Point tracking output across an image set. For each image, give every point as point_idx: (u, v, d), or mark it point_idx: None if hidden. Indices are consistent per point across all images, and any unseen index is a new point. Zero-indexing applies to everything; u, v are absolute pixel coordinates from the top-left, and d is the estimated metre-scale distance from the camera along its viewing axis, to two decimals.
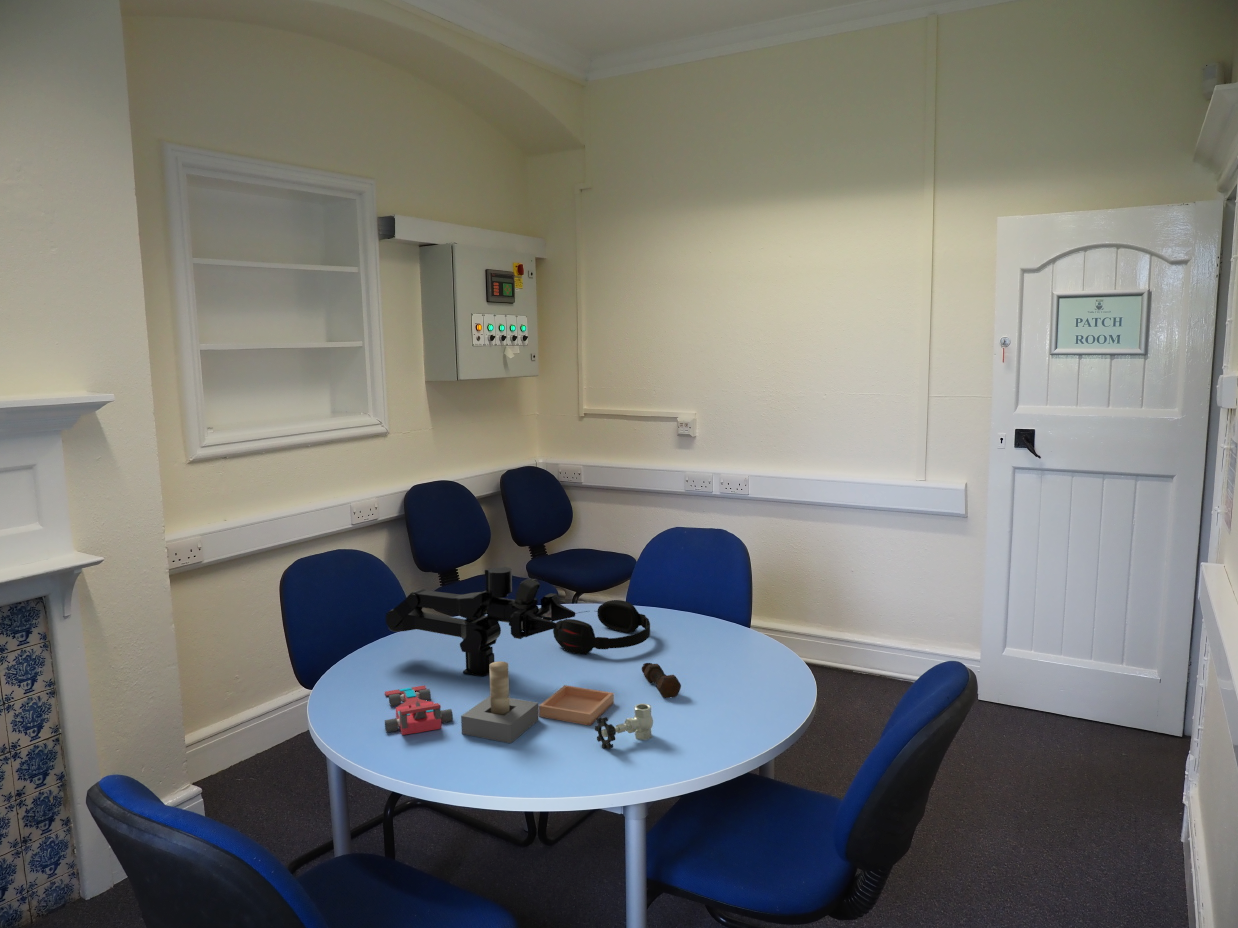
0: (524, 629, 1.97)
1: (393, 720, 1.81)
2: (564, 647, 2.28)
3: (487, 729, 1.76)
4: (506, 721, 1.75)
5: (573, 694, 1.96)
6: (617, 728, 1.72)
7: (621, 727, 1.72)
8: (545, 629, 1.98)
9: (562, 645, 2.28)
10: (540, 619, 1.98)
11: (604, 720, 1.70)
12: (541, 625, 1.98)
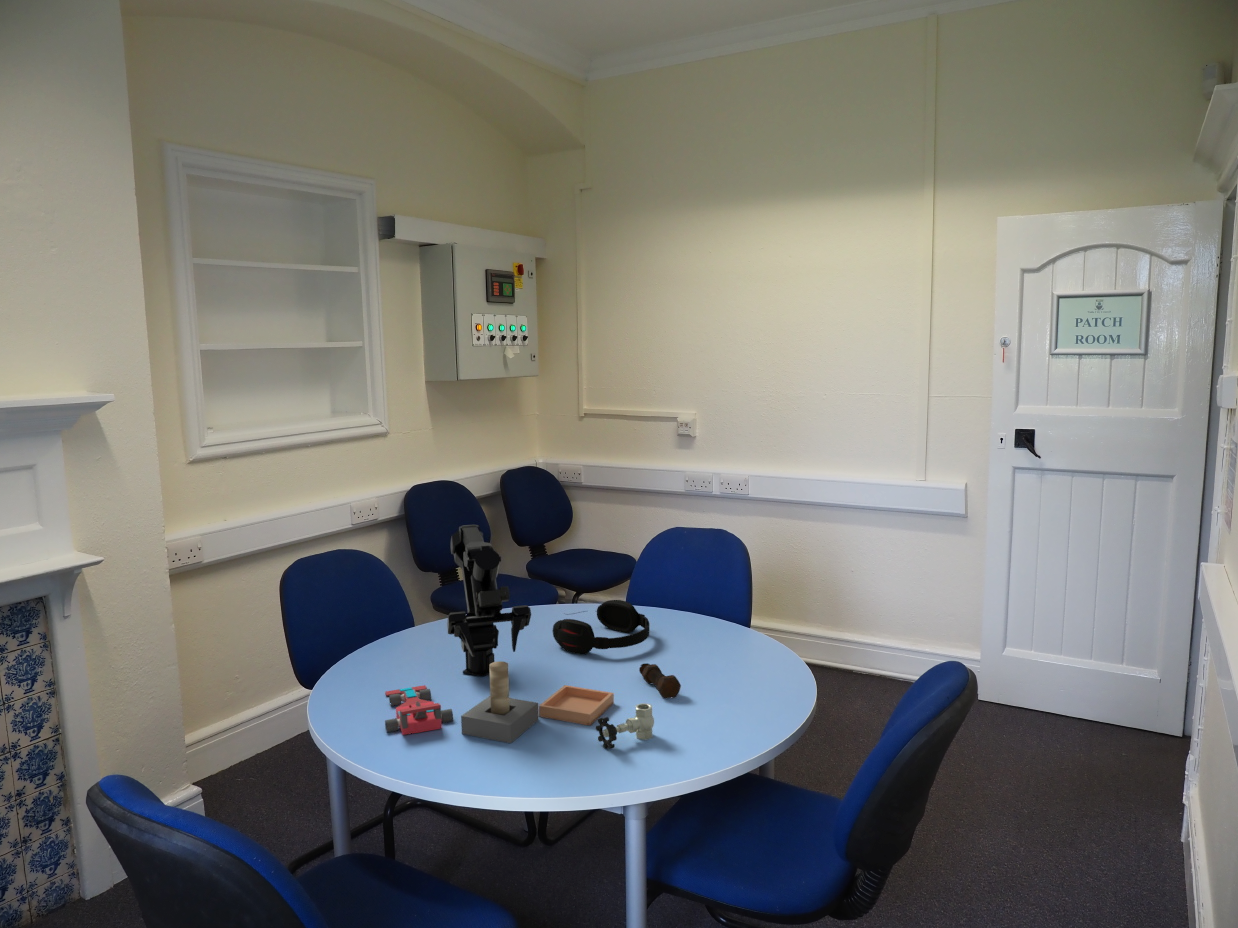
0: None
1: (393, 720, 1.81)
2: (563, 647, 2.28)
3: (487, 729, 1.76)
4: (506, 721, 1.75)
5: (573, 694, 1.96)
6: (618, 728, 1.72)
7: (622, 727, 1.72)
8: (467, 648, 1.88)
9: (561, 644, 2.28)
10: (467, 638, 1.87)
11: (605, 720, 1.70)
12: (466, 642, 1.88)
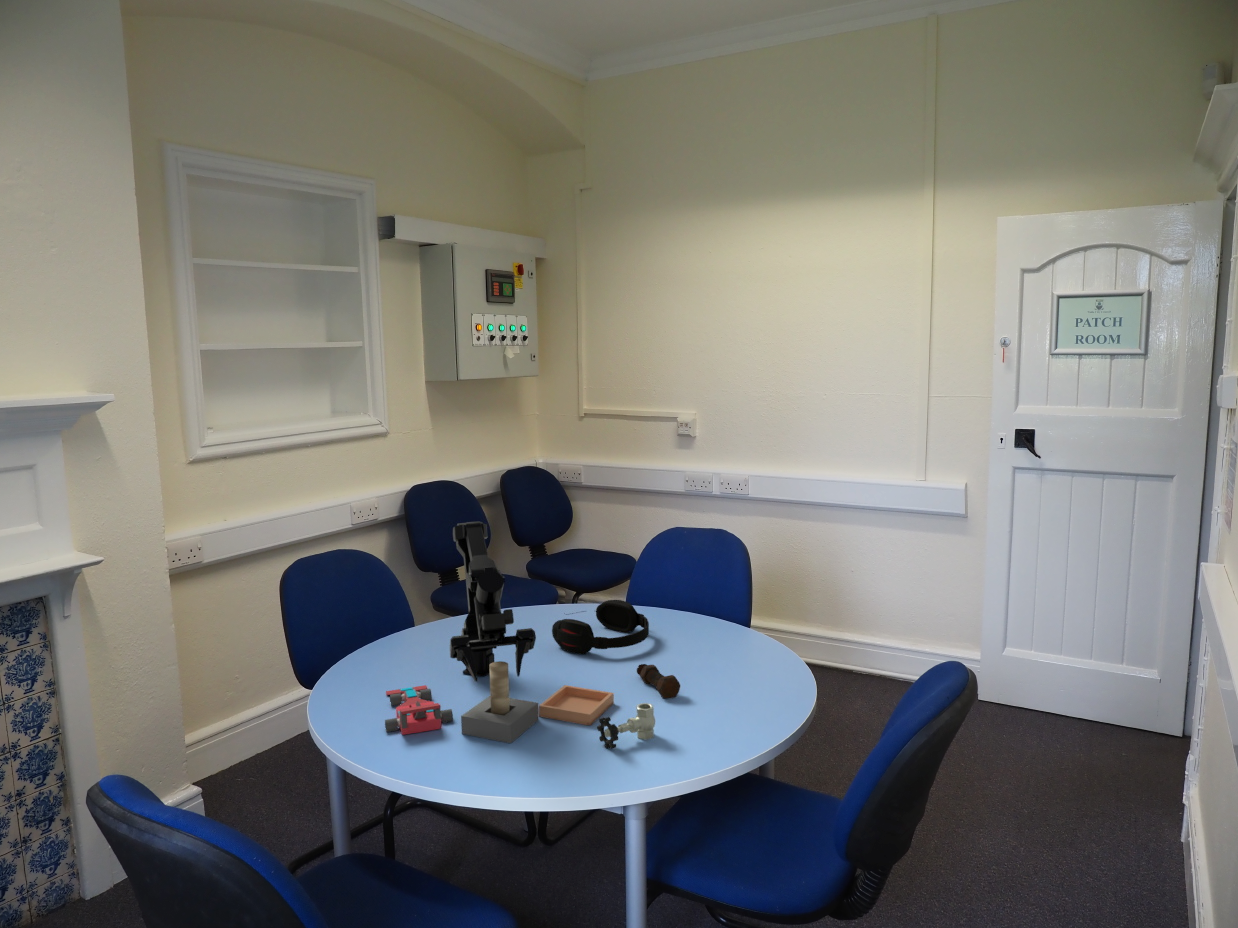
0: (457, 656, 1.85)
1: (393, 720, 1.81)
2: (563, 647, 2.28)
3: (487, 729, 1.76)
4: (506, 721, 1.75)
5: (573, 694, 1.96)
6: (619, 728, 1.72)
7: (624, 727, 1.72)
8: (470, 672, 1.83)
9: (561, 644, 2.29)
10: (470, 662, 1.83)
11: (607, 720, 1.70)
12: (469, 667, 1.83)
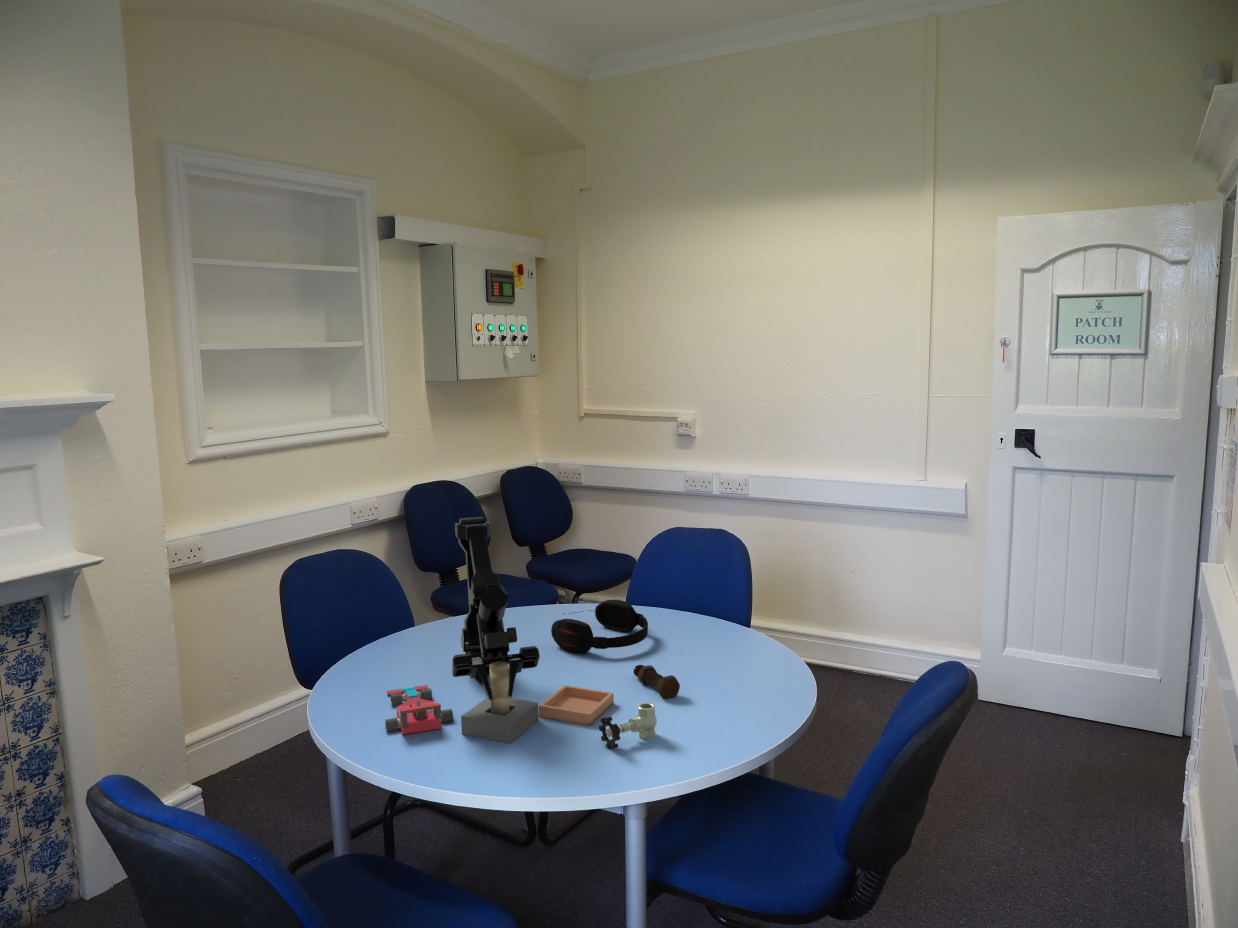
0: (470, 673, 1.82)
1: (393, 719, 1.81)
2: (562, 647, 2.28)
3: (487, 729, 1.76)
4: (506, 721, 1.75)
5: (573, 694, 1.96)
6: (621, 728, 1.72)
7: (625, 726, 1.72)
8: (484, 690, 1.81)
9: (560, 644, 2.29)
10: (484, 680, 1.80)
11: (609, 720, 1.70)
12: (483, 684, 1.81)
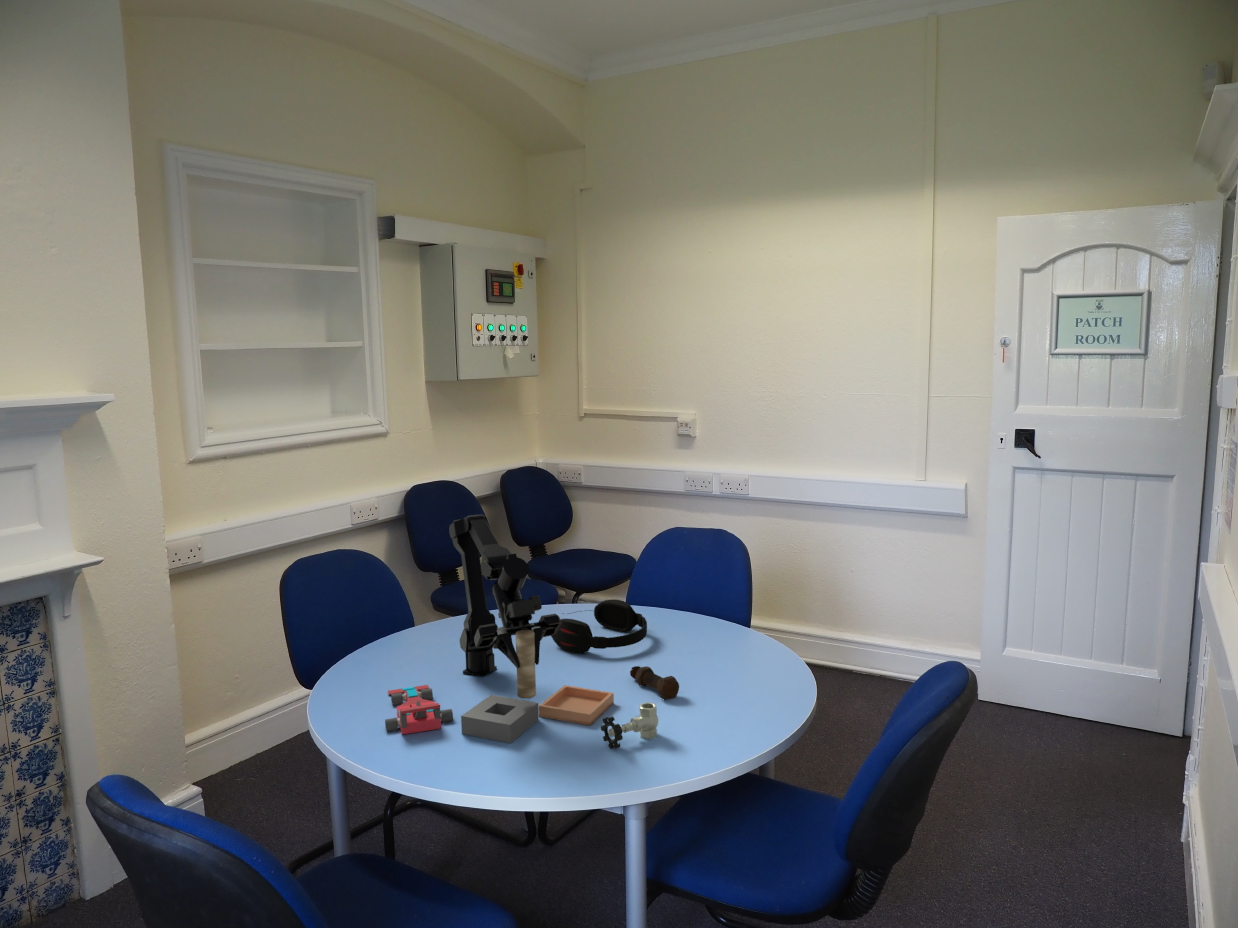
0: (494, 643, 1.82)
1: (393, 719, 1.81)
2: (561, 646, 2.28)
3: (487, 729, 1.76)
4: (506, 721, 1.75)
5: (573, 694, 1.96)
6: (623, 728, 1.72)
7: (627, 726, 1.72)
8: (510, 659, 1.81)
9: (559, 644, 2.29)
10: (511, 649, 1.80)
11: (611, 720, 1.70)
12: (509, 653, 1.81)
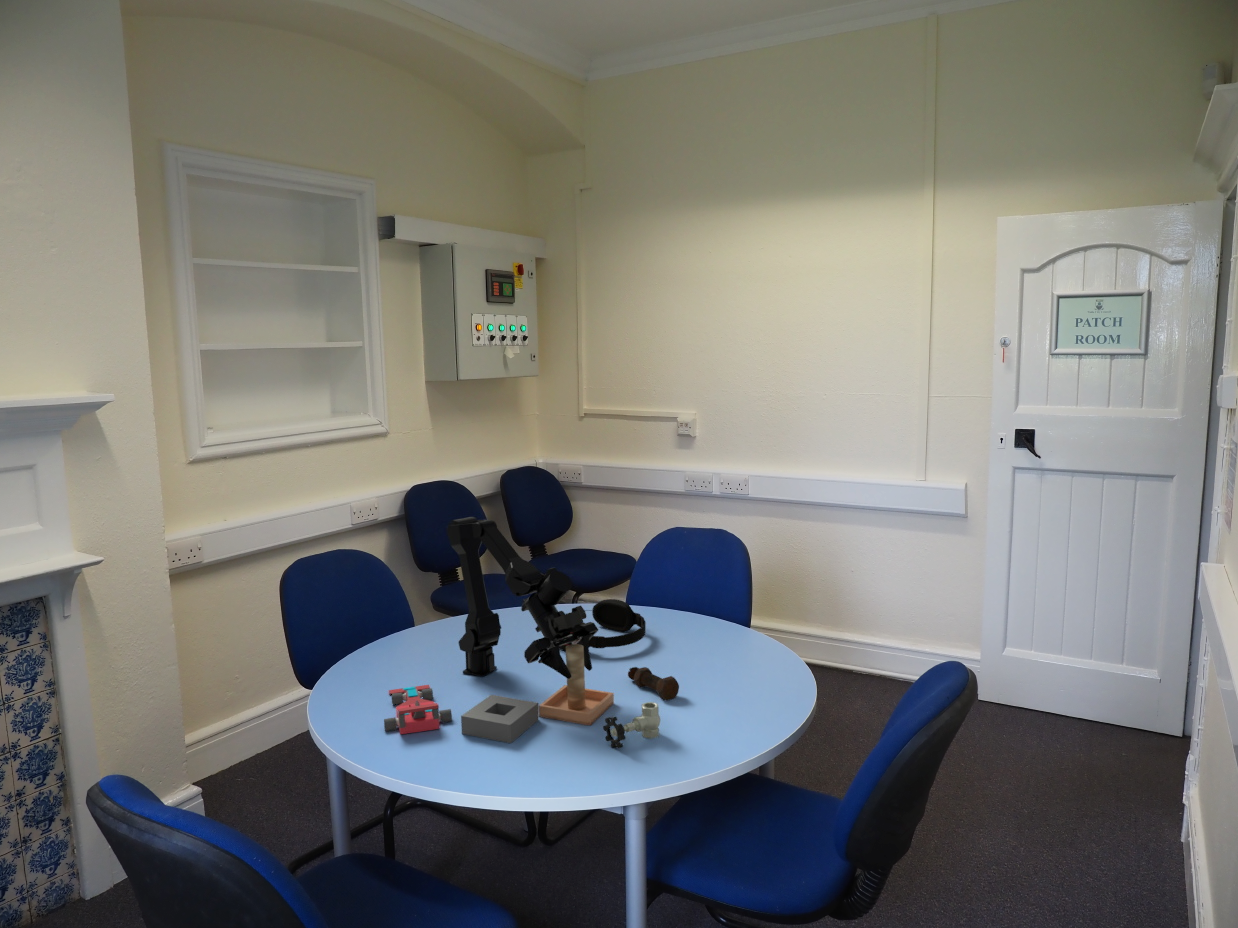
0: (541, 658, 1.86)
1: (392, 719, 1.81)
2: (560, 646, 2.28)
3: (487, 729, 1.76)
4: (506, 721, 1.75)
5: None
6: (625, 728, 1.72)
7: (630, 726, 1.73)
8: (559, 671, 1.86)
9: None
10: (560, 661, 1.86)
11: (613, 720, 1.70)
12: (558, 666, 1.86)
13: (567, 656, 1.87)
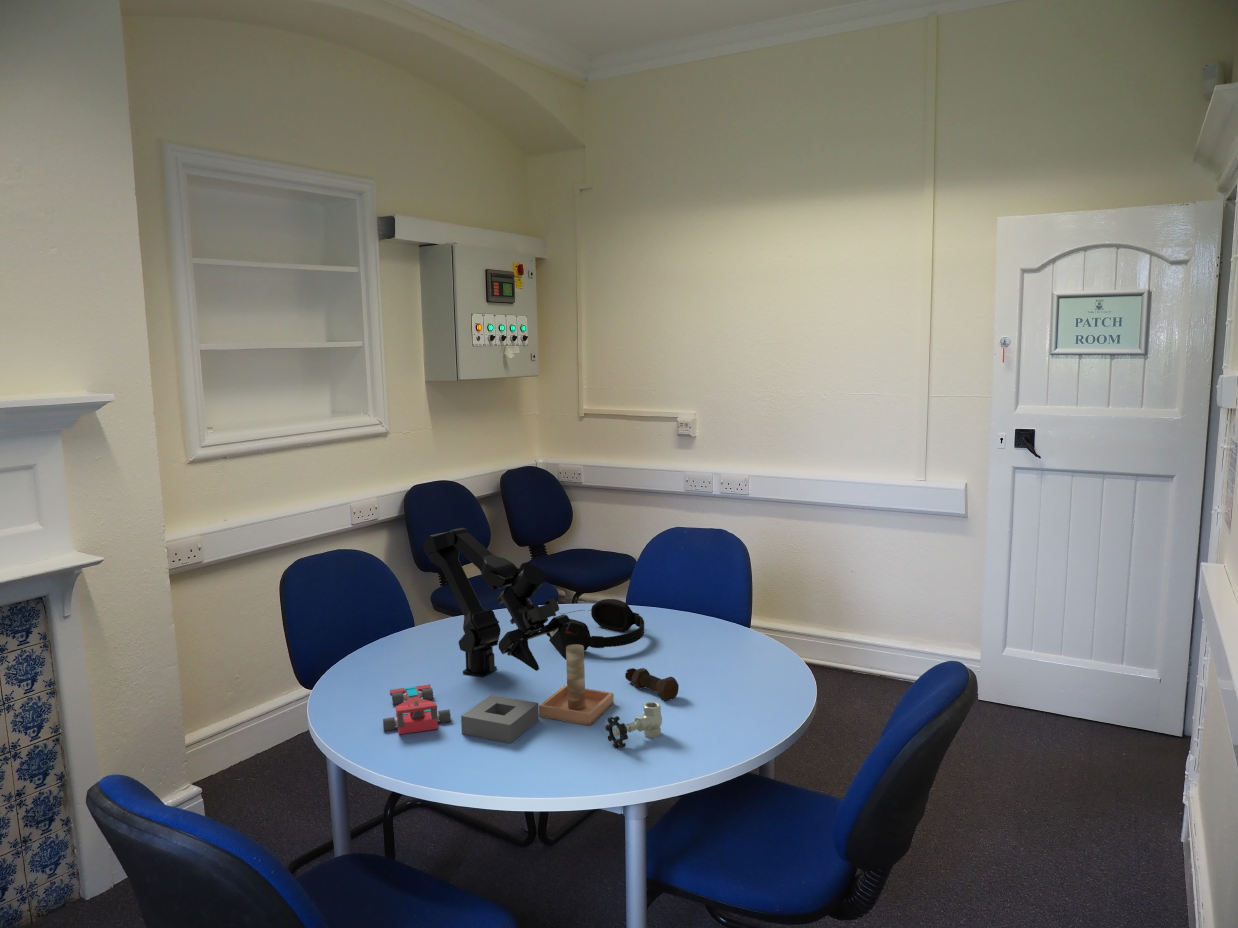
0: (510, 650, 1.91)
1: (391, 719, 1.81)
2: None
3: (487, 729, 1.76)
4: (506, 721, 1.75)
5: None
6: (628, 727, 1.72)
7: (632, 726, 1.73)
8: (527, 663, 1.92)
9: None
10: (529, 653, 1.91)
11: (616, 719, 1.70)
12: (526, 658, 1.91)
13: (567, 656, 1.87)
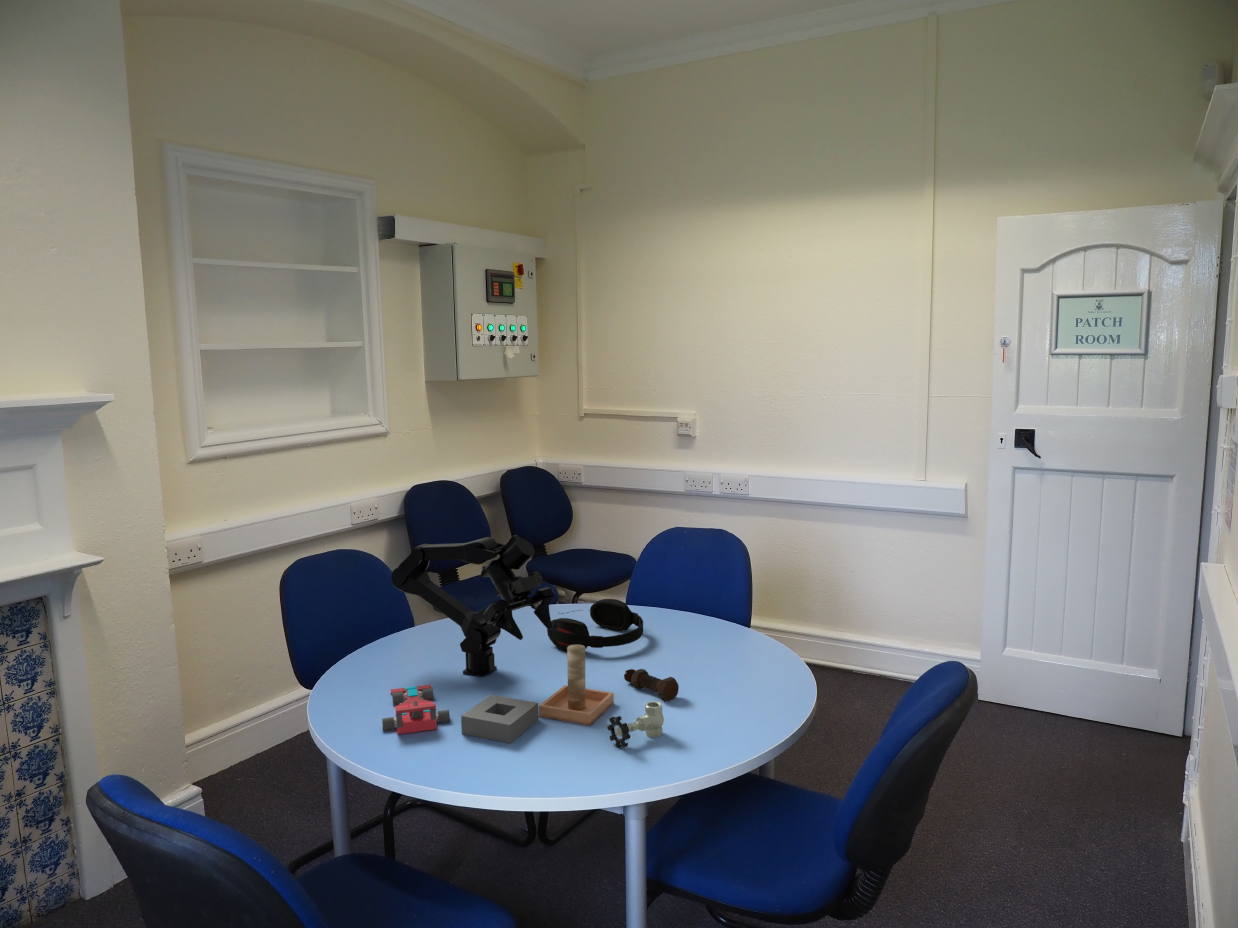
0: (495, 620, 1.98)
1: (390, 719, 1.81)
2: (558, 646, 2.29)
3: (487, 729, 1.76)
4: (506, 721, 1.75)
5: None
6: (630, 727, 1.73)
7: (634, 725, 1.73)
8: (511, 633, 1.98)
9: (556, 643, 2.29)
10: (513, 623, 1.97)
11: (618, 719, 1.70)
12: (510, 628, 1.98)
13: (569, 656, 1.87)
